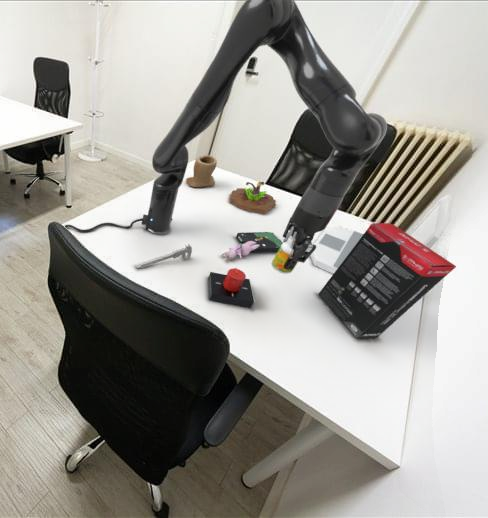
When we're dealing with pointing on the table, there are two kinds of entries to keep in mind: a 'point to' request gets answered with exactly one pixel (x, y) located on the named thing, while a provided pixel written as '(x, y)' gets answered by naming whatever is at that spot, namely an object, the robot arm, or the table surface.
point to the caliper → (169, 256)
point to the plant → (252, 199)
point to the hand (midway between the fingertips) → (284, 261)
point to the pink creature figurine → (240, 250)
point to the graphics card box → (382, 279)
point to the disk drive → (261, 241)
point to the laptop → (343, 240)
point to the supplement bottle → (283, 256)
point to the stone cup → (203, 172)
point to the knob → (234, 280)
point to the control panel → (229, 292)
